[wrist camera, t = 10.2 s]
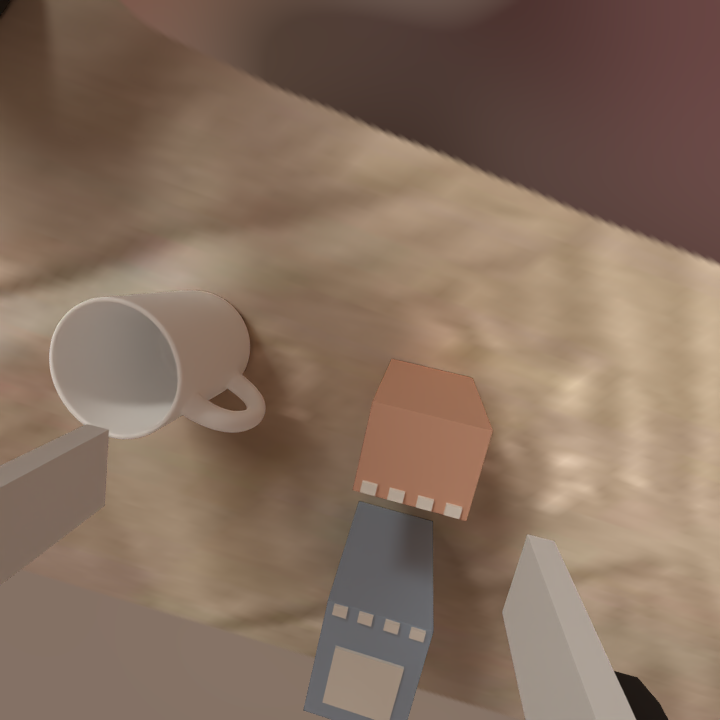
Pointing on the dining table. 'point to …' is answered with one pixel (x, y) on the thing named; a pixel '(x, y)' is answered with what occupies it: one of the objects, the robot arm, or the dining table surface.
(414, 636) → the toy oven block
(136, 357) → the mug
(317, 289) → the dining table surface
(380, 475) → the stub
